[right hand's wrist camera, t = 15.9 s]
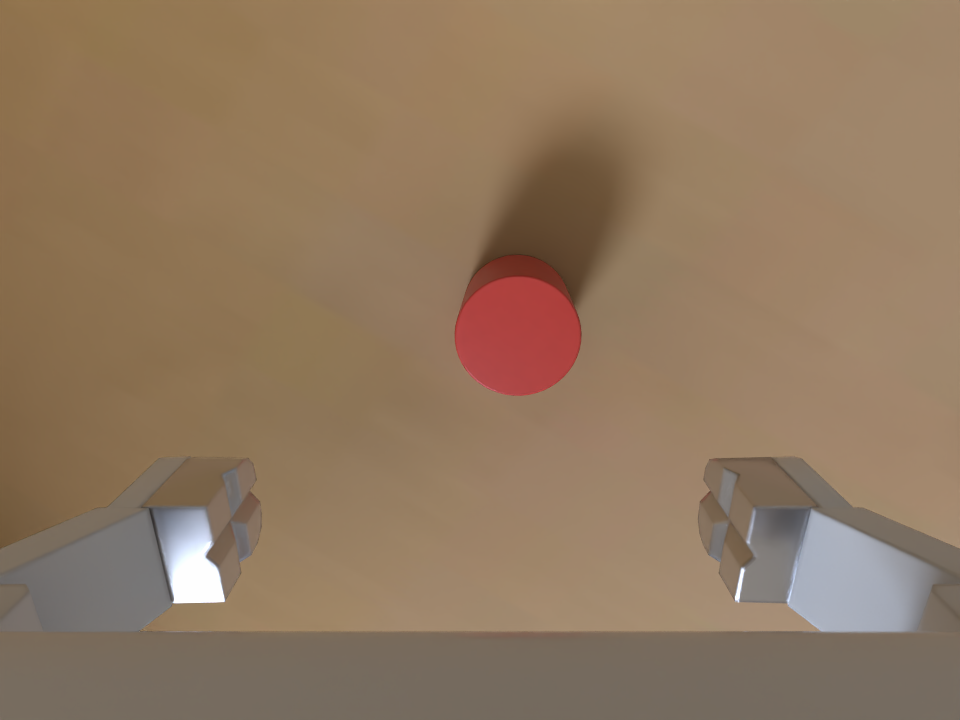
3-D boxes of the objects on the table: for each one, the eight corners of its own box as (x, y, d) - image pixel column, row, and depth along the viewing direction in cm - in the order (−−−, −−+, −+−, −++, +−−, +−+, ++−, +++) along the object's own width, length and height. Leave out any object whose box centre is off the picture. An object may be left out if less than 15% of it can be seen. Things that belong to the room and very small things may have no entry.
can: (492, 235, 22) (488, 253, 18) (588, 283, 23) (605, 310, 19) (446, 330, 24) (434, 364, 20) (538, 373, 24) (544, 415, 20)
